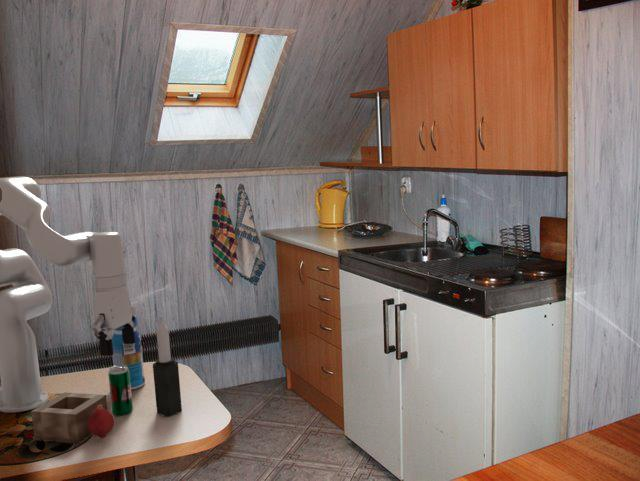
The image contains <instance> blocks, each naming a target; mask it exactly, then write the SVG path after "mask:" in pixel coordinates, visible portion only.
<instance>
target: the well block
mask: <svg viewBox="0 0 640 481" xmlns="http://www.w3.org/2000/svg"><path fill="white" fill-rule="evenodd" d="M107 397H108V396H107V394H95V393H78V392H65V391H64V392H63V393H61V394H59V395H57V396H56V397H54V398H52V399H51V400H48V401H47V402H46V403H45V404H43V405H41V406H39V407H37V408H34V409H32V410H31V411H30V413H31V420H32V421H31V422H32V427H33V428H32V430H33V437H34V440H35V439H41V440H40V441H42V440H45V441H46V442H53V441H56V442H55V443H65V444H66V443H67V444H77V445H78V444H80V443H82V442H83V441H85V440H87V438H89V437H91V436H93V434H91V432H90V431H89V429H88V419H89V417H90V415H91V414H92V412H93V411H94V410H96V409H97V407H98V406H99V405H103V408H104V409H106V410H108V411H109V408H108V407H109V405H108V398H107ZM45 441H44V442H45Z"/></svg>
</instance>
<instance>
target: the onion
mask: <svg viewBox="0 0 640 481" xmlns="http://www.w3.org/2000/svg"><path fill="white" fill-rule="evenodd" d="M114 426H115V418H114V414H113V413H112V412H111V411H109V409H108V410H106V409H104V408H103V405H99V406H98V407H97V409H96V410H94V411H93V412H92V414H91V415H90V417H89V419H88V429H89V431H90V432H91V434H92V436H95V437H97V438H100V439H105V438H106V437H107V436H108V435H109V434H110V432H112V431H113V428H114Z"/></svg>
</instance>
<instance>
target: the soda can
mask: <svg viewBox="0 0 640 481" xmlns="http://www.w3.org/2000/svg"><path fill="white" fill-rule="evenodd" d="M107 374H108V384H109V392H110V394H109V395H110V404H111V405H110V406H111V414H112V415H113V416H117V417H122V416H126V415H129V414H131V413H132V412H133V410H134V405H133V396H132V395H133V394H132V390H131V384H130V373H129V369H128V368H127V365H115V366H113V365H112V366H110V367H109V371H108V373H107Z"/></svg>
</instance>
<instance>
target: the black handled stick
mask: <svg viewBox="0 0 640 481" xmlns="http://www.w3.org/2000/svg"><path fill="white" fill-rule="evenodd" d="M169 330H170V329H169V327H168V326H167V324H166V323H165V320H164V315H159V322H158V325H157V327H156V329H155V332H156V340H157V354H158V359H156V360H155V362H153V364H152V371H153V372H152V373H153V382H154V383H153V384H154V391H155V393H154V395H155V403H156V404H155V406H156V414H158V415H162V416H163V417H165V418H167V417H171V416H174V415H176V414H180V413H181V412H182V411H183V407H182V397H181V382H180V371H179V362H178V361H176V360H175V358H172V356H171V346H170V345H171V344H170V334H169V332H170V331H169Z"/></svg>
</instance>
